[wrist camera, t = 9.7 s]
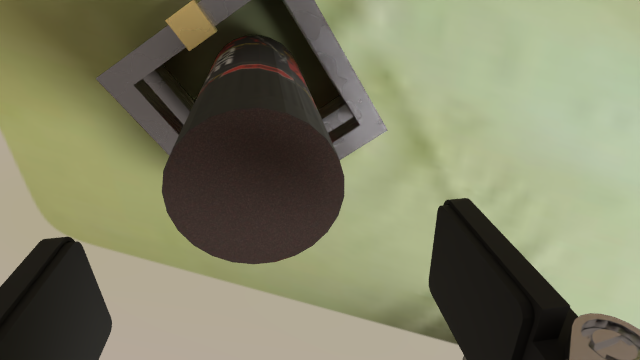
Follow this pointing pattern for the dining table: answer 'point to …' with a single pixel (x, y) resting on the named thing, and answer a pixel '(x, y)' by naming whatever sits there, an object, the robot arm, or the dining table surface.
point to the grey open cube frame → (196, 26)
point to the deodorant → (253, 160)
